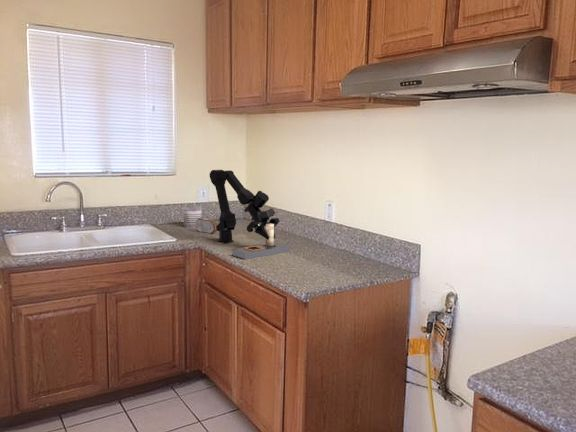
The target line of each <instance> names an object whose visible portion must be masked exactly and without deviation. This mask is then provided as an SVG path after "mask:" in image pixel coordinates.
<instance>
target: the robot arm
mask: <svg viewBox="0 0 576 432" xmlns="http://www.w3.org/2000/svg"><path fill="white" fill-rule="evenodd" d="M234 173H235V172H234V171H233V170H224V169H212V170H211V171H210V172H209V179H210V182H211V183H212V185H213V186H214V188H215V193H216V194H217V201H218V204H219V209H220V214H219V223H218V224H217V226H216V229H217V231H216V232H218V233H219V234H218V235H219V240H217V242H218V243H223V244H227V243H233V242H234V239H233V233H232V232H233V231H234V230H235V227H236V225H237V218H236V213H235V212H232V211H231V208H230V204H229V200H228V196H227V189H226V186H225V185H226V182H228V184H229V185H230V186H231V188H232V189H233V191H234V192H235V193H236V195H237V199H238V201H239V204H241V205H242V206H243V205H244V206H245V205H247V206H245V207H244V213H248V214H249V215H250V216H251V219H250V220H251V221H250V222H249V223H248V225H247V226H246V231H247V232H248V233H252V232H254V234H255V233H256V234H258V235H259V236H261V237H263V238H265V240H266V239H269V236H268V234H267V232H266V224H269V223H271V224H274V228H276V226H277V225H278V224H279V223H280V219H279V218H278V217H274V216H275V214H276V211H275V210H274V208H270V209H268V210H264V211H263V210H261V209H262V208H263V207H264V206H265V205H266V204H267V202H268V201H269V199H270V198H269V196H268V194H266V193H264V192H263V191H262V190H258V191H257V193H256V194H255V195H254V193H253V192H252V191H251V190H249V189H247V188H245V186H244V185H243V184H242V182H241V181H240V180H239V179H238V177H237V176H236V175H235V174H234ZM274 239H276V233H275V231H274Z"/></svg>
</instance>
